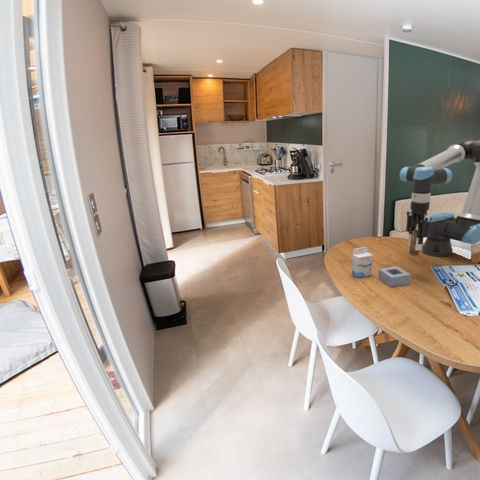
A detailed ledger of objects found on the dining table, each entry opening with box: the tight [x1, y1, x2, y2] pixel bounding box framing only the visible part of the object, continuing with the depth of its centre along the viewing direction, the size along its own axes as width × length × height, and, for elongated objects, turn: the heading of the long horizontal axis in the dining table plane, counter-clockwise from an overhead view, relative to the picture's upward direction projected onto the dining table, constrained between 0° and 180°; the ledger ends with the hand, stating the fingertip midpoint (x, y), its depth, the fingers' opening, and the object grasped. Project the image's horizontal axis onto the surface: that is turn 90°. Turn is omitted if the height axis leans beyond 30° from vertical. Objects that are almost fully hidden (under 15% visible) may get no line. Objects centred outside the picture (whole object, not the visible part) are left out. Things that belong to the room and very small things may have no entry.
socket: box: [378, 265, 411, 288], centre depth 148 cm, size 10×10×5 cm
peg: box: [408, 229, 420, 257], centre depth 145 cm, size 4×4×12 cm
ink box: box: [351, 246, 374, 279], centre depth 156 cm, size 8×5×15 cm, turn 102°
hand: (414, 248), depth 146 cm, fingers closed on peg, 4 cm apart
